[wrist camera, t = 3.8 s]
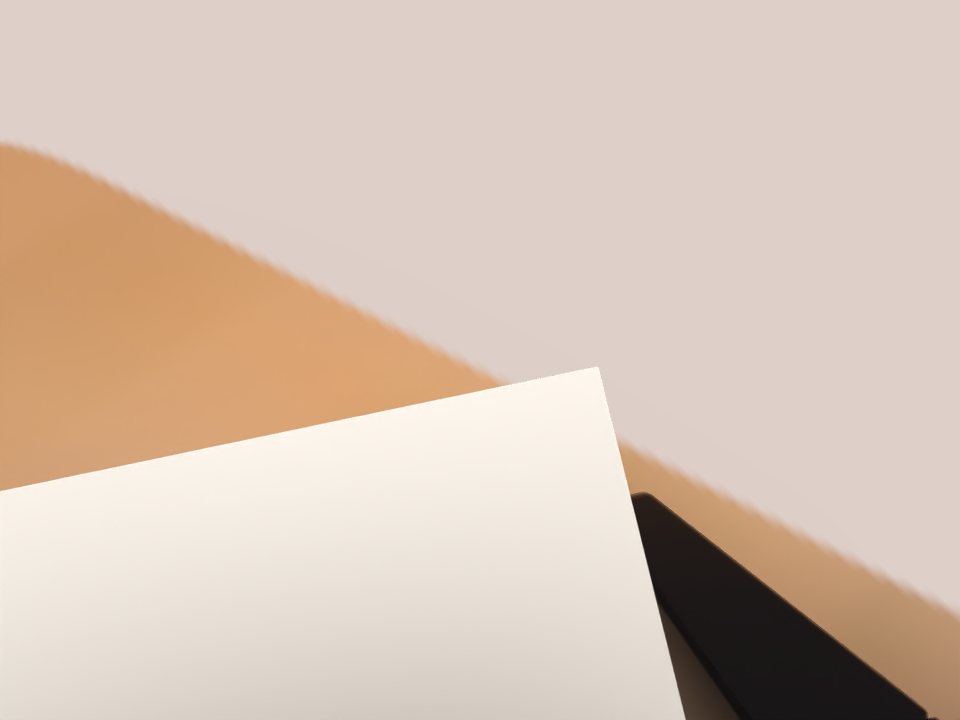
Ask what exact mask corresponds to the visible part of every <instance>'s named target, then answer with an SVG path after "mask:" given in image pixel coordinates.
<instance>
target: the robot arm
mask: <svg viewBox="0 0 960 720" xmlns="http://www.w3.org/2000/svg"><path fill="white" fill-rule="evenodd" d="M630 497H631V501H632V505H633V509H634V513H635V517H636V521H637V525H638V529H639V533H640V537H641V541H642V545H643V549H644V553H645V558H646V562H647V566H648V570H649V574H650V578H651V582H652V586H653V590H654V594H655V598H656V602H657V606H658V610H659V614H660V618H661V622H662V626H663V630H664V634H665V638H666V642H667V646H668V650H669V655H670V659H671V663H672V667H673V671H674V675H675V679H676V683H677V687H678V691H679V695H680V699H681V703H682V707H683V711H684V715H685V719H686V720H928V712H927V711H926V709H925V708H923V707H922V706H921V705H919V704H918V703H917V702H916V701H914V700H913V699H912V698H910V697H909V696H908V695H907V694H905V693H904V692H903V691H902V690H900V689H899V688H898V687H896V686H895V685H894V684H893V683H891V682H890V681H889V680H888V679H886V678H885V677H884V676H882V675H881V674H880V673H879V672H877V671H876V670H875V669H873V668H872V667H871V666H870V665H868V664H867V663H866V662H865V661H863V660H862V659H861V658H859V657H858V656H857V655H856V654H854V653H853V652H852V651H851V650H849V649H848V648H847V647H845V646H844V645H843V644H842V643H840V642H839V641H838V640H836V639H835V638H834V637H833V636H831V635H830V634H829V633H828V632H826V631H825V630H824V629H822V628H821V627H820V626H819V625H817V624H816V623H815V622H813V621H812V620H811V619H810V618H808V617H807V616H806V615H805V614H803V613H802V612H801V611H799V610H798V609H797V608H796V607H794V606H793V605H792V604H791V603H789V602H788V601H787V600H785V599H784V598H783V597H782V596H780V595H779V594H778V593H776V592H775V591H774V590H773V589H771V588H770V587H769V586H768V585H766V584H765V583H764V582H762V581H761V580H760V579H759V578H757V577H756V576H755V575H753V574H752V573H751V572H750V571H748V570H747V569H746V568H745V567H743V566H742V565H741V564H739V563H738V562H737V561H736V560H734V559H733V558H732V557H731V556H729V555H728V554H727V553H725V552H724V551H723V550H722V549H720V548H719V547H718V546H716V545H715V544H714V543H713V542H711V541H710V540H709V539H708V538H706V537H705V536H704V535H702V534H701V533H700V532H699V531H697V530H696V529H695V528H693V527H692V526H691V525H690V524H688V523H687V522H686V521H685V520H683V519H682V518H681V517H679V516H678V515H677V514H676V513H674V512H673V511H672V510H671V509H669V508H668V507H667V506H665V505H664V504H663V503H662V502H660V501H659V500H658V499H656V498H655V497H654V496H653V495H651V494H649V493H646V492H641V493H636V494H631V495H630ZM929 720H939V719H938V718H936V717H931V718H930V719H929Z"/></svg>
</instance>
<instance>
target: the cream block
mask: <svg viewBox="0 0 960 720" xmlns="http://www.w3.org/2000/svg"><path fill="white" fill-rule="evenodd" d="M0 720H686V719H685V715H684V711H683V707H682V703H681V699H680V695H679V691H678V687H677V683H676V679H675V675H674V671H673V667H672V663H671V659H670V655H669V650H668V646H667V642H666V638H665V634H664V630H663V626H662V622H661V618H660V614H659V610H658V606H657V602H656V598H655V594H654V590H653V586H652V582H651V578H650V574H649V570H648V566H647V562H646V558H645V553H644V549H643V545H642V541H641V537H640V533H639V529H638V525H637V521H636V517H635V513H634V509H633V505H632V501H631V497H630V493H629V489H628V485H627V481H626V477H625V473H624V469H623V465H622V461H621V456H620V452H619V448H618V444H617V440H616V436H615V432H614V428H613V424H612V420H611V416H610V412H609V408H608V404H607V400H606V396H605V392H604V388H603V384H602V380H601V376H600V372H599V368H598V366H597V367H592V368H588V369H583V370H578V371H573V372H568V373H564V374H559V375H554V376H549V377H545V378H540V379H535V380H530V381H525V382H521V383H516V384H511V385H506V386H501V387H497V388H492V389H487V390H482V391H478V392H473V393H468V394H463V395H458V396H454V397H449V398H444V399H439V400H435V401H430V402H425V403H420V404H415V405H411V406H406V407H401V408H396V409H391V410H387V411H382V412H377V413H372V414H368V415H363V416H358V417H353V418H348V419H344V420H339V421H334V422H329V423H325V424H320V425H315V426H310V427H305V428H301V429H296V430H291V431H286V432H282V433H277V434H272V435H267V436H262V437H258V438H253V439H248V440H243V441H238V442H234V443H229V444H224V445H219V446H215V447H210V448H205V449H200V450H195V451H191V452H186V453H181V454H176V455H172V456H167V457H162V458H157V459H152V460H148V461H143V462H138V463H133V464H129V465H124V466H119V467H114V468H109V469H105V470H100V471H95V472H90V473H86V474H81V475H76V476H71V477H66V478H62V479H57V480H52V481H47V482H42V483H38V484H33V485H28V486H23V487H19V488H14V489H9V490H4V491H0Z"/></svg>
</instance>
